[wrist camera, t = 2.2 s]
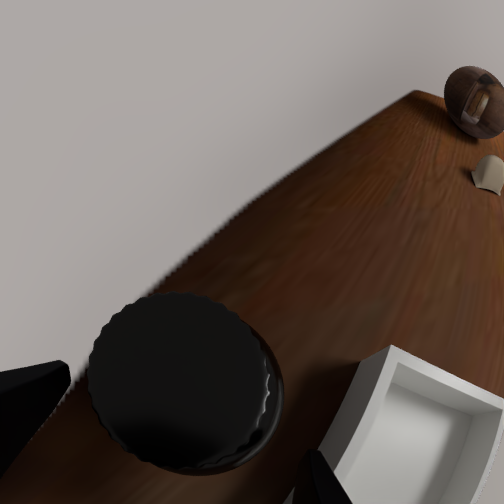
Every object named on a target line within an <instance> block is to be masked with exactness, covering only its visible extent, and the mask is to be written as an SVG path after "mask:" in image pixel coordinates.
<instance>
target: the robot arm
mask: <svg viewBox="0 0 504 504" xmlns="http://www.w3.org/2000/svg"><path fill="white" fill-rule="evenodd" d="M70 384H71V376H70V371H69V366H68V365H67V364H66V363H65V362H63V361H61V360H56V361H52V362H48V363H43V364H38V365H34V366H28V367H24V368H18V369H13V370H7V371H2V372H0V479H1V477H2V476H3V474H4V473H5V472H6V470H7V469H8V468H9V466H10V465H11V464H12V462H13V461H14V460H15V458H16V457H17V456H18V455H19V453H20V452H21V451H22V449H23V448H24V447H25V445H26V444H27V443H28V442H29V440H30V439H31V438H32V437H33V435H34V434H35V433H36V432H37V430H38V429H39V428H40V427H41V425H42V424H43V423H44V422H45V420H46V419H47V418H48V417H49V416H50V414H51V413H52V412H53V410H54V409H55V407H56V406H57V404H58V403H59V401H60V400H61V398H62V397H63V395H64V393H65V392H66V390H67V389H68V387H69V386H70ZM292 504H353V503H352V501H351V500H350V498H349V496H348V495H347V493H346V492H345V490H344V489H343V487H342V485H341V484H340V482H339V480H338V479H337V477H336V476H335V474H334V472H333V471H332V469H331V467H330V466H329V464H328V462H327V461H326V459H325V457H324V456H323V454H322V452H321V451H319V450H314V449H309V450H307V452H306V453H305V455H304V456H303V458H302V459H301V461H300V463H299V466H298V471H297V477H296V483H295V488H294V493H293V499H292Z"/></svg>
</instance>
